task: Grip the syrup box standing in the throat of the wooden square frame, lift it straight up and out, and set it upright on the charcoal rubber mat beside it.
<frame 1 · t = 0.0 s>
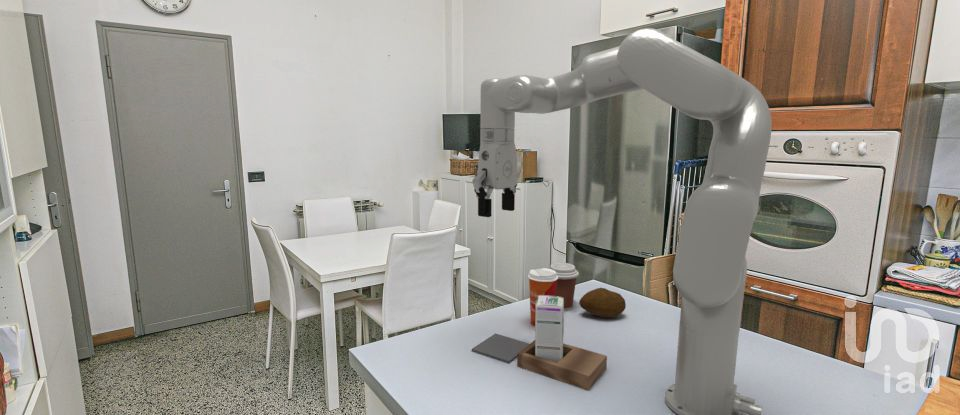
hand: (496, 213, 105), 31 cm above the counter, tool pointing down, fingers open, 9 cm apart
paper cup: (541, 324, 121), on the counter
syrup box: (548, 364, 100), resting in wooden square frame
potato: (601, 316, 126), on the counter
rubber mat: (501, 348, 107), on the counter
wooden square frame: (561, 367, 99), on the counter
coffee cup: (561, 307, 133), on the counter
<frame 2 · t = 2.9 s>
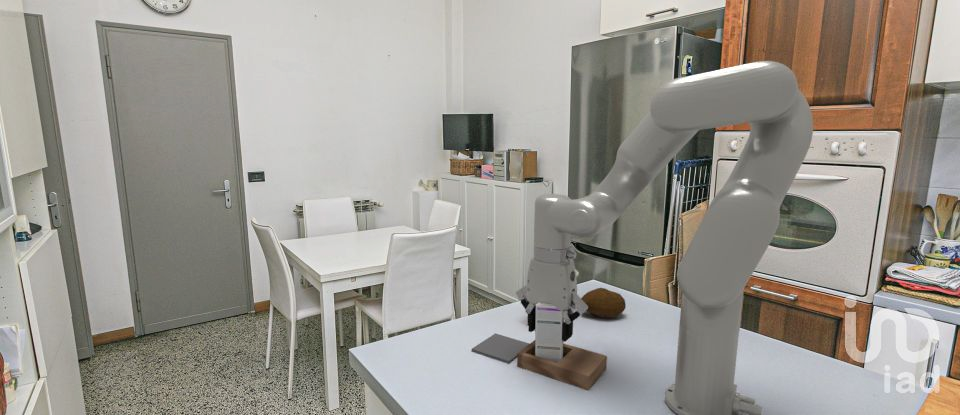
hand: (549, 333, 99), 7 cm above the counter, tool pointing down, fingers closed on syrup box, 7 cm apart
syrup box: (548, 364, 100), resting in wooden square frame, touching gripper
everything else where it was.
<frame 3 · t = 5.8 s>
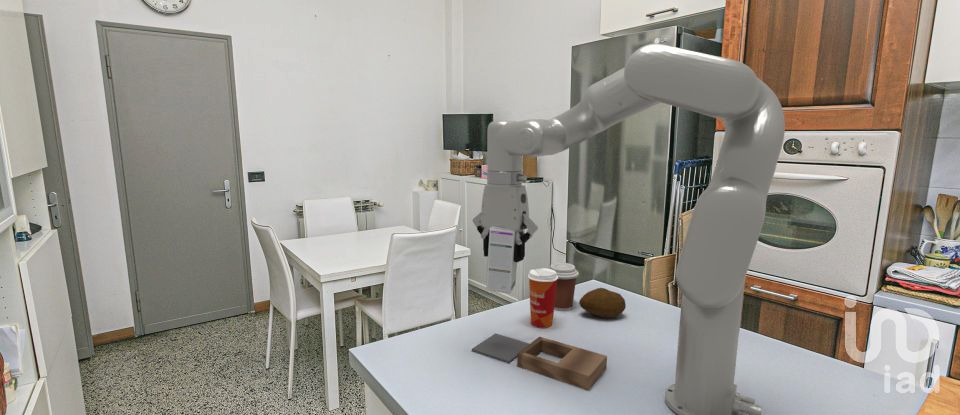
hand: (503, 257, 103), 22 cm above the counter, tool pointing down, fingers closed on syrup box, 7 cm apart
syrup box: (500, 288, 105), point 14 cm above the counter, touching gripper
everything else where it was.
when the fingers open (9 cm above the counter, at t = 8.8 s): syrup box stays where it is, resting on rubber mat.
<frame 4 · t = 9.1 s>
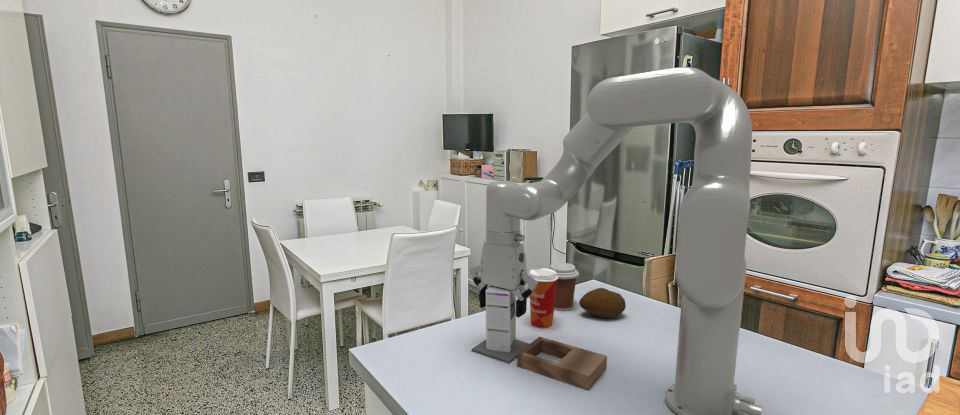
hand: (502, 310, 106), 9 cm above the counter, tool pointing down, fingers open, 9 cm apart
syrup box: (500, 346, 107), resting on rubber mat
everything else where it was.
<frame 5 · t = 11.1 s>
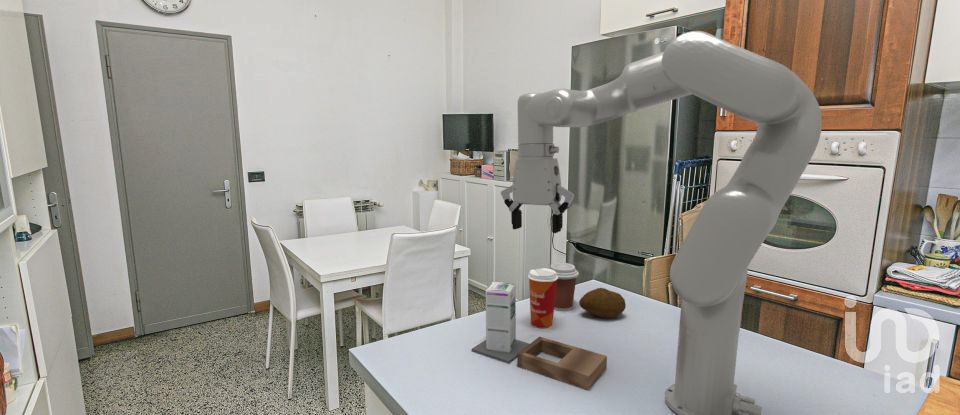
hand: (536, 230, 103), 28 cm above the counter, tool pointing down, fingers open, 9 cm apart
nothing on the counter moved.
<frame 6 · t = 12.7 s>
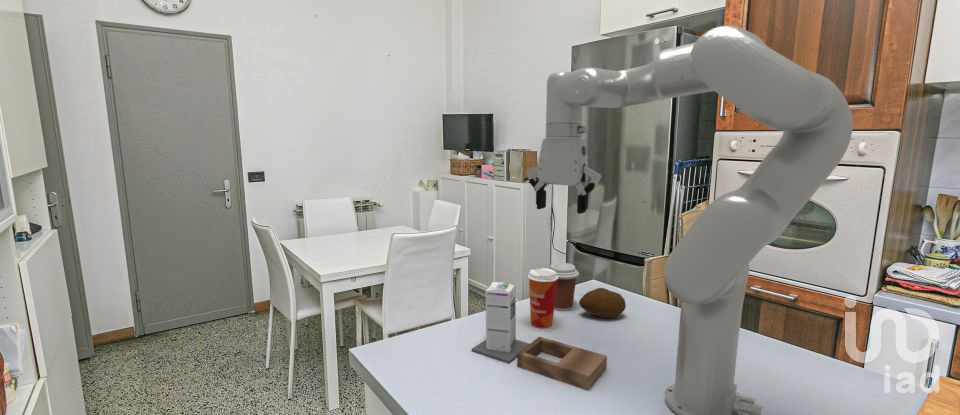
hand: (560, 210, 103), 32 cm above the counter, tool pointing down, fingers open, 9 cm apart
nothing on the counter moved.
at the end: syrup box 0.3 cm off-centre on the rubber mat, point 0.4 cm above the rubber mat's base; syrup box tilted 0°; the gripper is holding nothing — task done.
